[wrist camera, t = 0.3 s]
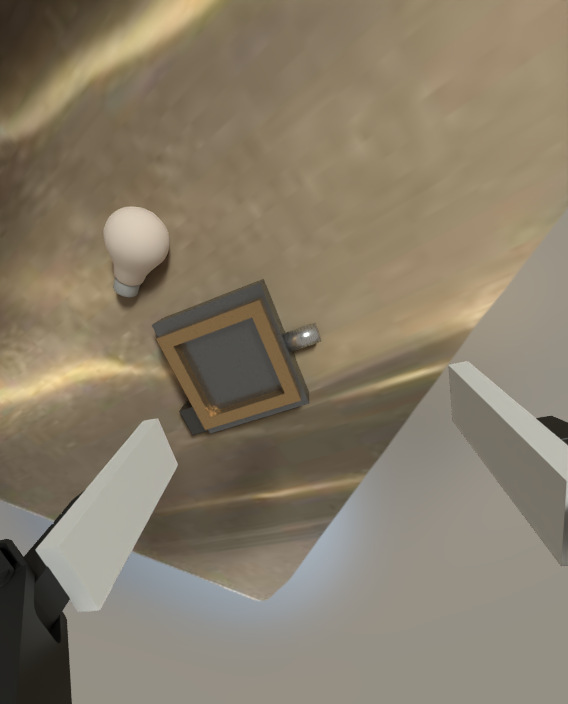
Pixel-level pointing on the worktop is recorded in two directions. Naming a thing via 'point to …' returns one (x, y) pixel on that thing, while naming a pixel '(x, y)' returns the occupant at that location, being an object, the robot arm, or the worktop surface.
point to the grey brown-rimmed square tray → (234, 359)
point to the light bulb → (134, 246)
